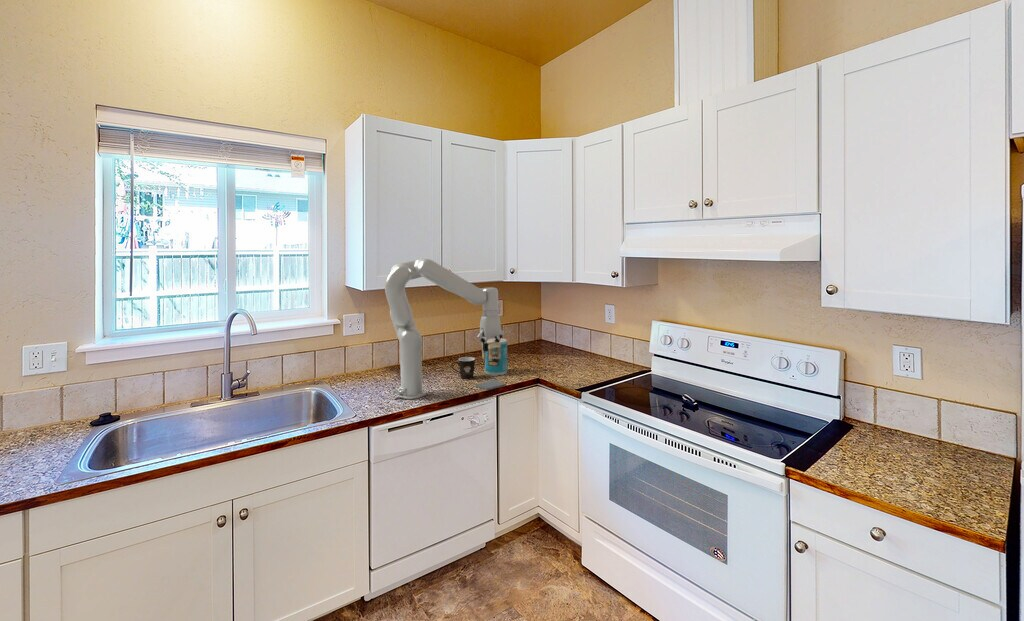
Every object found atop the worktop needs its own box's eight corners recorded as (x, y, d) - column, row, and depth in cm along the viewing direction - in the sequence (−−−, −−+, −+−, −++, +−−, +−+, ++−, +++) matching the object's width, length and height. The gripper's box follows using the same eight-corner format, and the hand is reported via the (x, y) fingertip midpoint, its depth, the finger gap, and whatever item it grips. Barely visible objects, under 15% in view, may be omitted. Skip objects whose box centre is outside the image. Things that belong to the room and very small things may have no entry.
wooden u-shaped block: (482, 358, 218) (481, 342, 217) (492, 356, 223) (492, 340, 221) (490, 361, 214) (489, 344, 212) (500, 358, 218) (500, 342, 217)
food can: (491, 377, 234) (491, 343, 232) (481, 371, 244) (480, 339, 242) (511, 373, 240) (511, 341, 238) (500, 368, 250) (500, 337, 248)
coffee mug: (477, 376, 236) (477, 357, 235) (471, 380, 228) (471, 361, 227) (457, 374, 239) (456, 356, 238) (450, 379, 231) (450, 360, 230)
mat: (486, 390, 213) (486, 388, 213) (475, 386, 219) (475, 384, 219) (506, 385, 220) (506, 383, 220) (494, 381, 227) (494, 379, 227)
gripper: (499, 310, 223) (500, 345, 226) (471, 314, 212) (472, 351, 215) (509, 312, 218) (509, 348, 220) (480, 316, 206) (481, 354, 209)
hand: (491, 349), depth 217 cm, fingers closed on wooden u-shaped block, 6 cm apart
